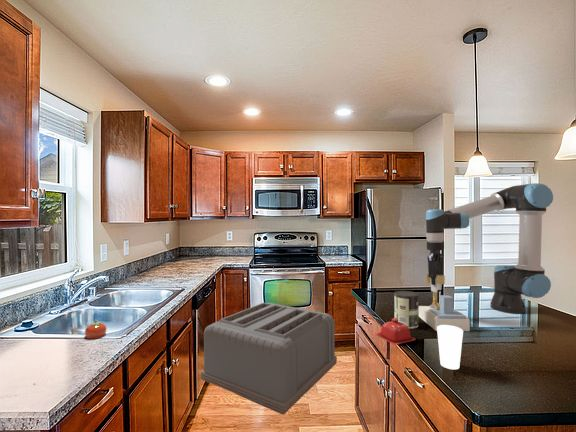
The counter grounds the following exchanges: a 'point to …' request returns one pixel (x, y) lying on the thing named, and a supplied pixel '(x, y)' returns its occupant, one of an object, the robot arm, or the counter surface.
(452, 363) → the cup
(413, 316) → the coffee can
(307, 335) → the toaster
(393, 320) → the butter dish
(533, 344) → the counter surface
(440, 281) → the l shaped latch
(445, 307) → the cover
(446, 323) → the housing
